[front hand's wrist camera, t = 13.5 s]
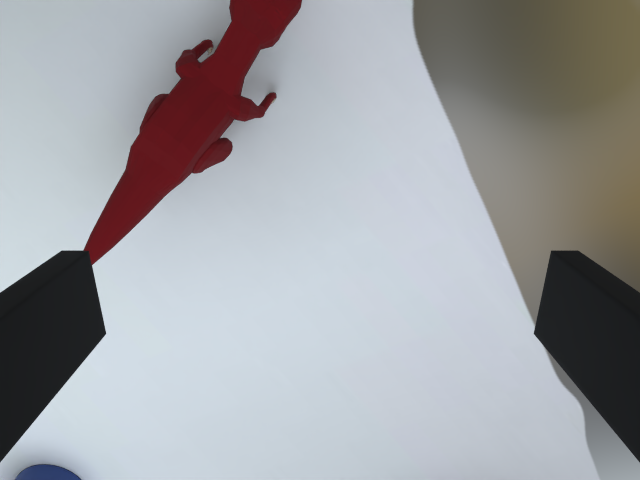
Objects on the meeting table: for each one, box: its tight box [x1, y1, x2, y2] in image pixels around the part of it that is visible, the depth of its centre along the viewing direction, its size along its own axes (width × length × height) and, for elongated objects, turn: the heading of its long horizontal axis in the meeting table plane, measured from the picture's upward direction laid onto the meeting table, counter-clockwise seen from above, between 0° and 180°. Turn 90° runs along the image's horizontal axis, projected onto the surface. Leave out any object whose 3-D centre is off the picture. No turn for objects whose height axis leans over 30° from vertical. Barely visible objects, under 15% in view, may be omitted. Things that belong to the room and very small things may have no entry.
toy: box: [83, 0, 302, 265], centre depth 30 cm, size 7×25×15 cm
